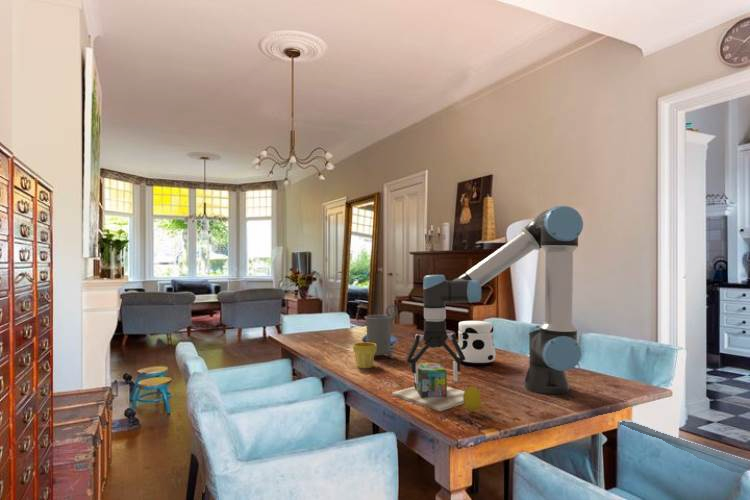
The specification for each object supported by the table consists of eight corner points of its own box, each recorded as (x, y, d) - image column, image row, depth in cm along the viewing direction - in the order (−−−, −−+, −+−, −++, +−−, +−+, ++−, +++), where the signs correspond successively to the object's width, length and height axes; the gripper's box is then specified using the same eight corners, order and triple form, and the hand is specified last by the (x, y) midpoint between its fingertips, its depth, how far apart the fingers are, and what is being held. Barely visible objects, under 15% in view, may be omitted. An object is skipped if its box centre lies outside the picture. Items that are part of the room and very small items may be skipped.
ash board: (479, 398, 155) (479, 395, 155) (440, 411, 142) (440, 408, 142) (431, 384, 172) (431, 382, 172) (392, 395, 159) (392, 392, 159)
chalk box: (438, 387, 165) (450, 400, 150) (413, 388, 164) (423, 402, 149) (438, 361, 165) (450, 372, 150) (413, 362, 164) (423, 373, 149)
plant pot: (377, 363, 206) (377, 342, 206) (375, 369, 196) (375, 346, 196) (354, 363, 207) (354, 341, 207) (351, 369, 197) (351, 346, 197)
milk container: (502, 362, 209) (501, 322, 209) (484, 369, 195) (484, 327, 196) (468, 356, 220) (467, 319, 220) (449, 363, 206) (449, 323, 207)
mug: (369, 361, 210) (368, 307, 210) (356, 355, 223) (356, 304, 224) (405, 358, 218) (404, 305, 218) (390, 352, 231) (390, 302, 232)
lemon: (473, 416, 137) (473, 389, 138) (459, 411, 142) (459, 385, 142) (485, 412, 141) (485, 386, 141) (471, 408, 145) (471, 382, 145)
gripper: (466, 317, 162) (468, 377, 162) (397, 319, 160) (398, 380, 159) (473, 320, 155) (474, 383, 154) (400, 322, 152) (401, 386, 152)
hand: (436, 381), depth 157 cm, fingers open, 13 cm apart
